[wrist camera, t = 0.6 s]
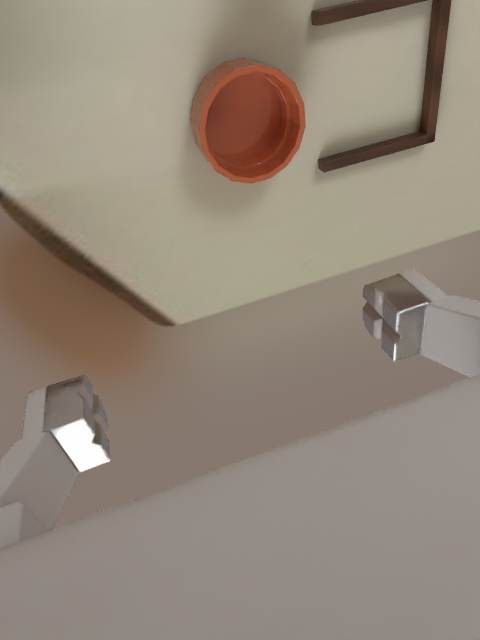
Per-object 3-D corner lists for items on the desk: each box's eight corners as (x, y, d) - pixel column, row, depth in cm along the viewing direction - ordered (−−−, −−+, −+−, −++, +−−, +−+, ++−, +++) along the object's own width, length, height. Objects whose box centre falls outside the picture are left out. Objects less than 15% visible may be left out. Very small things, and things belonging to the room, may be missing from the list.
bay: (311, 10, 45) (317, 11, 44) (444, -20, 47) (453, -20, 46) (318, 168, 55) (323, 172, 54) (426, 138, 57) (434, 141, 56)
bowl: (178, 72, 45) (188, 80, 41) (282, 47, 46) (301, 53, 42) (202, 179, 52) (212, 194, 48) (291, 154, 53) (308, 167, 50)
